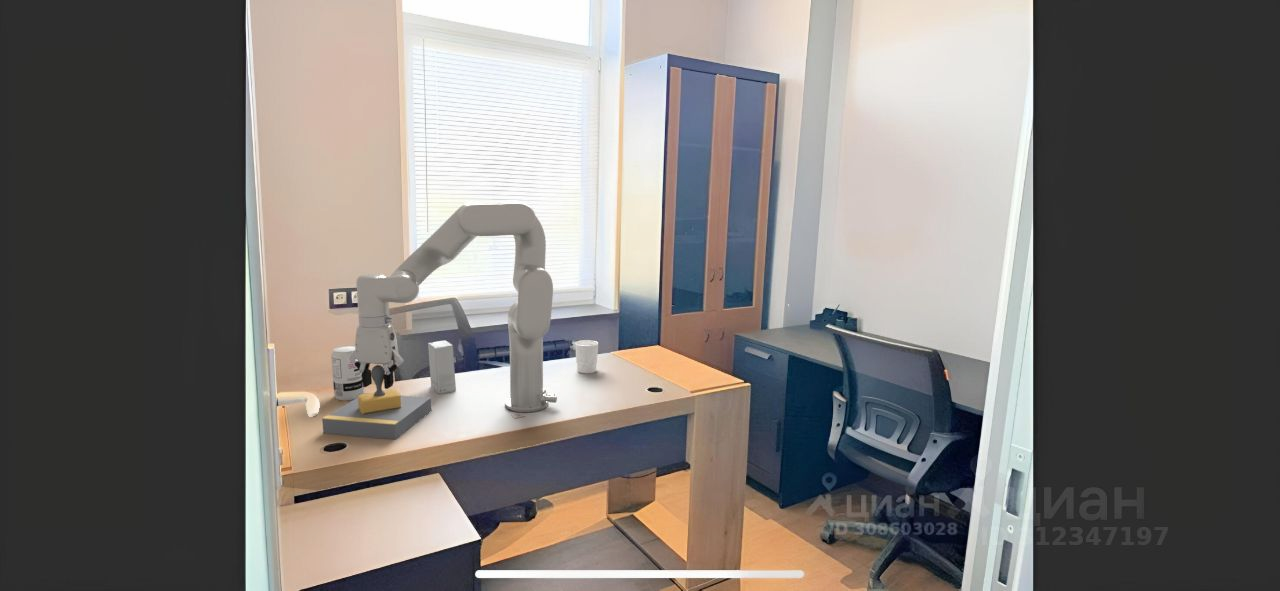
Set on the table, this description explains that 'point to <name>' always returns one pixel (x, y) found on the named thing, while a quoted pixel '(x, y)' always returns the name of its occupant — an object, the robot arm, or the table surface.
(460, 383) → the table surface
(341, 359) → the supplement can
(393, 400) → the rubber stamp
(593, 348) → the white cup
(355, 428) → the block
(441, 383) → the skincare box
